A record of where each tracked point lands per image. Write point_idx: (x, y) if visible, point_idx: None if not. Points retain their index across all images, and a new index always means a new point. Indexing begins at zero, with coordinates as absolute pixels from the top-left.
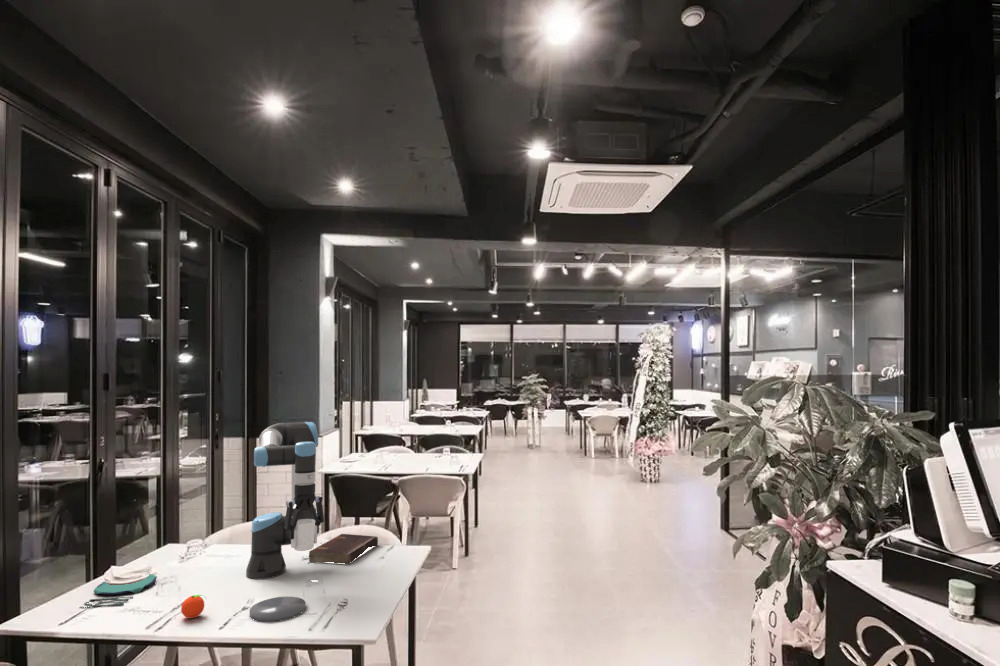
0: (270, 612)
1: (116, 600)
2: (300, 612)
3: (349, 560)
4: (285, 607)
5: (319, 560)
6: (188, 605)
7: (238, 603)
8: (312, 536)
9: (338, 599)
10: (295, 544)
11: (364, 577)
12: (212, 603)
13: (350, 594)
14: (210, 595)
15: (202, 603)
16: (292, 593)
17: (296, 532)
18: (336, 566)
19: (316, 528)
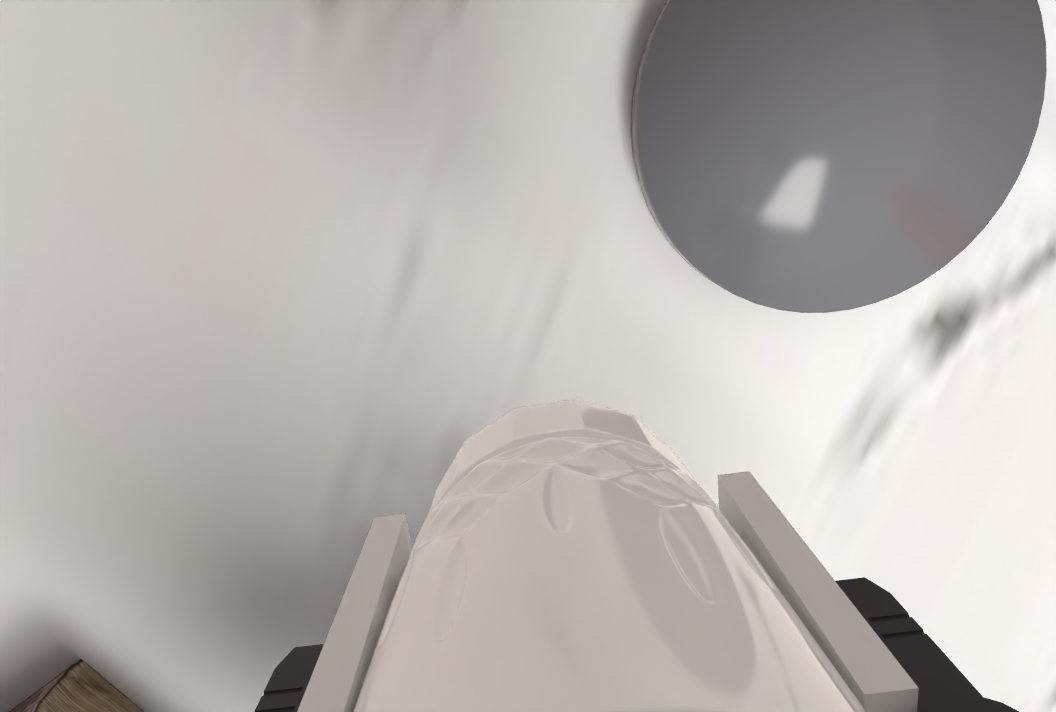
0: (938, 24)
1: None
2: None
3: (50, 685)
4: (812, 47)
5: None
6: None
7: (936, 435)
8: (477, 503)
9: (379, 19)
10: (756, 501)
11: (43, 348)
12: (1038, 533)
13: (259, 59)
14: (982, 660)
15: None
16: (604, 381)
17: (839, 649)
18: (165, 677)
19: (314, 706)
